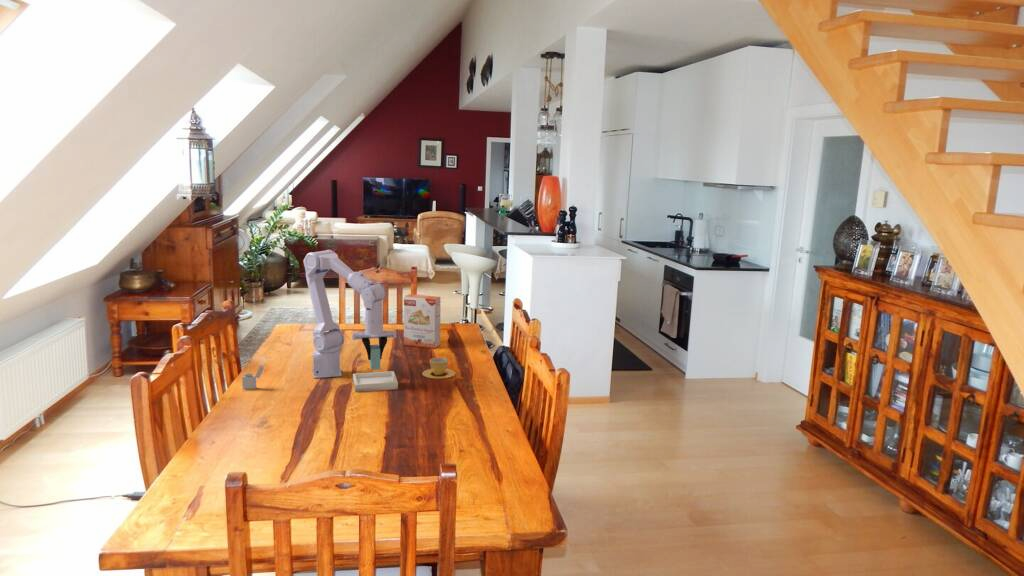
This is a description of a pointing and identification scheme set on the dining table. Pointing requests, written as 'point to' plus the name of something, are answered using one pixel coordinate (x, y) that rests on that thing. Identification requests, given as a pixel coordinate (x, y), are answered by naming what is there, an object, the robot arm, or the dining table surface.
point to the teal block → (375, 357)
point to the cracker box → (422, 321)
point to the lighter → (251, 379)
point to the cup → (438, 369)
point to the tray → (375, 381)
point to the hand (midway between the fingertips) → (374, 358)
